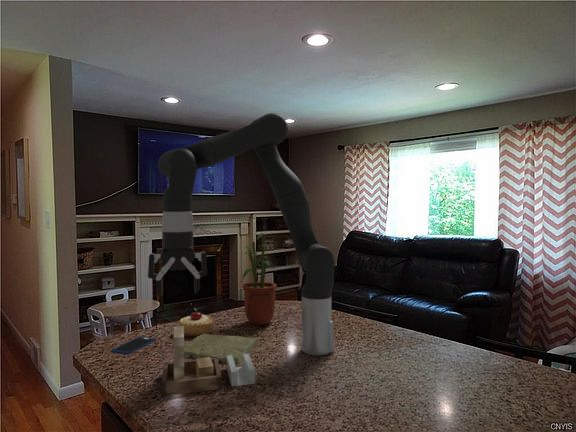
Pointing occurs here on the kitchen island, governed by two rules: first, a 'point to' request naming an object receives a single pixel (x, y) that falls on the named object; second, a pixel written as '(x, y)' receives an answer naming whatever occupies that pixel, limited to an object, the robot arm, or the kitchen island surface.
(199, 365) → the oak offcut upper
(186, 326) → the pastry
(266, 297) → the potted plant
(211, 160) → the robot arm
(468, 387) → the kitchen island surface
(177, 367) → the birch sheet
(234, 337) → the decorative tile
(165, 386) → the wooden tray
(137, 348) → the cell phone
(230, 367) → the slot stand
